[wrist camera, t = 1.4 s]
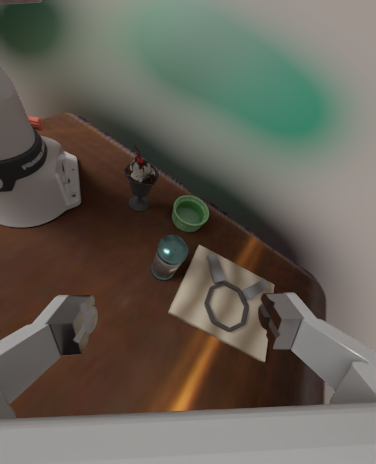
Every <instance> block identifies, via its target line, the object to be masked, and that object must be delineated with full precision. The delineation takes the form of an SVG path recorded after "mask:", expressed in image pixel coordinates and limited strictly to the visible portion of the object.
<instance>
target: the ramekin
mask: <svg viewBox="0 0 376 464" xmlns="http://www.w3.org/2000/svg"><path fill="white" fill-rule="evenodd" d="M208 218H209V210H208V207H207V206H206V204H205V203H204V202H203V201H202V200H200V199H199V198H197V197H194V196H190V195H185V196H181V197H179V198H178V199H177V200H176V201H175V202H174V206H173V213H172V220H173V223H174V224H175V226H176V227H177V228H178V229H180V230H182V231H184V232H194V231H197V230H198V229H199V228H200V227H201V226H202V225H203V224H204V223H205V222H206V221H207V220H208Z"/></svg>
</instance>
